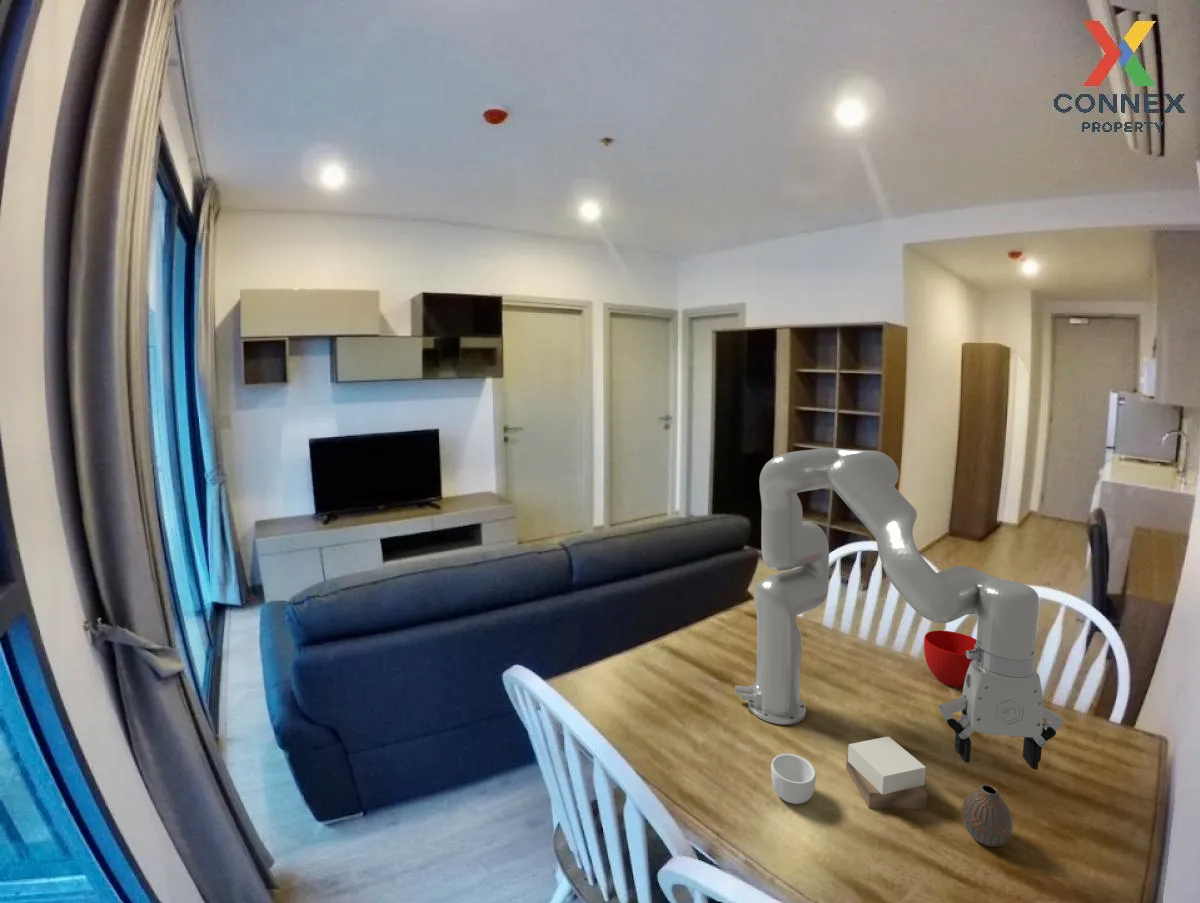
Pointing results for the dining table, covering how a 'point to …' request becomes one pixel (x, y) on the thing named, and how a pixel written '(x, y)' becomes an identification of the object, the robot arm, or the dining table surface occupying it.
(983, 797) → the vase
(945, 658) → the red rounded bowl
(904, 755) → the top block
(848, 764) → the base block
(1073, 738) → the dining table surface
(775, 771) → the teacup
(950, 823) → the dining table surface
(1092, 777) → the dining table surface
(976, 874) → the dining table surface
